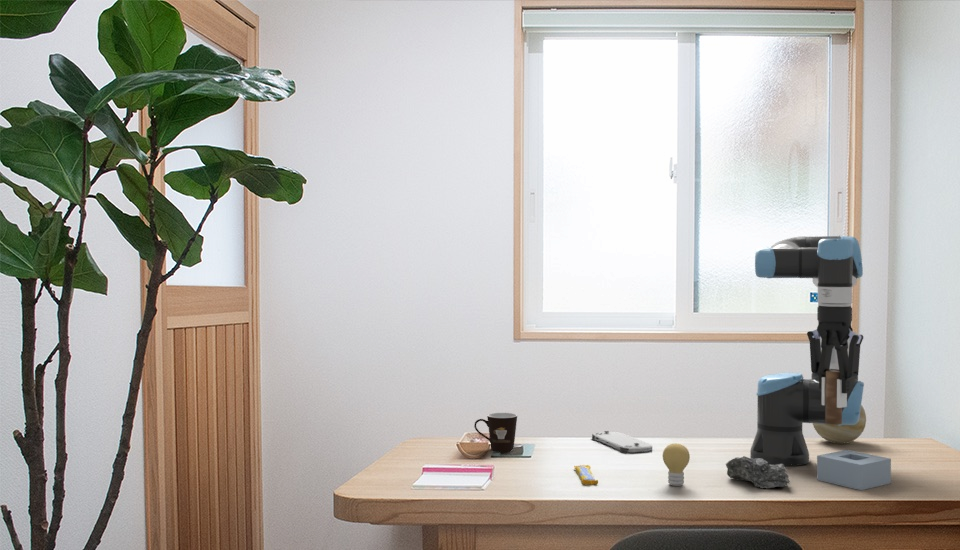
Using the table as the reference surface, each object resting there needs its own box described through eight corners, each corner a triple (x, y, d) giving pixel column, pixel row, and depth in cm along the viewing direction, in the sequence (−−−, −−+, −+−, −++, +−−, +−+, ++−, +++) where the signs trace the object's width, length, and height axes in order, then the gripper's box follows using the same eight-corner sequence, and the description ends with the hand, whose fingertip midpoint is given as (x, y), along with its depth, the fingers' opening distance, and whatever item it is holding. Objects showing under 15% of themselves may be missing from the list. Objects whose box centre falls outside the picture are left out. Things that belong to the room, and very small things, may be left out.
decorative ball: (806, 437, 271) (806, 388, 271) (857, 438, 269) (858, 389, 269) (818, 447, 256) (818, 396, 256) (872, 449, 254) (873, 397, 254)
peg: (824, 423, 206) (825, 371, 205) (825, 421, 209) (826, 370, 209) (841, 424, 204) (842, 372, 204) (842, 422, 207) (842, 371, 207)
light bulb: (684, 489, 210) (684, 447, 210) (658, 486, 214) (658, 444, 213) (693, 483, 216) (693, 442, 215) (667, 480, 219) (668, 439, 219)
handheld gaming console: (656, 443, 252) (625, 445, 248) (656, 453, 252) (625, 455, 248) (618, 428, 273) (589, 430, 270) (618, 437, 274) (589, 439, 270)
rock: (723, 473, 223) (724, 443, 218) (773, 464, 224) (775, 434, 218) (742, 510, 212) (744, 479, 207) (795, 501, 213) (798, 470, 207)
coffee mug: (522, 449, 255) (522, 414, 255) (507, 454, 248) (507, 419, 248) (488, 444, 261) (488, 410, 261) (472, 449, 254) (472, 415, 254)
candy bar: (599, 487, 214) (599, 479, 214) (581, 487, 214) (581, 479, 214) (590, 470, 231) (590, 463, 231) (574, 470, 231) (574, 463, 231)
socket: (861, 490, 209) (861, 464, 209) (817, 479, 219) (817, 455, 219) (890, 483, 216) (890, 458, 216) (846, 473, 226) (846, 449, 226)
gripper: (794, 304, 211) (793, 402, 211) (857, 307, 197) (856, 412, 198) (814, 303, 215) (813, 399, 215) (876, 306, 201) (876, 409, 202)
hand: (834, 405), depth 206 cm, fingers closed on peg, 3 cm apart
